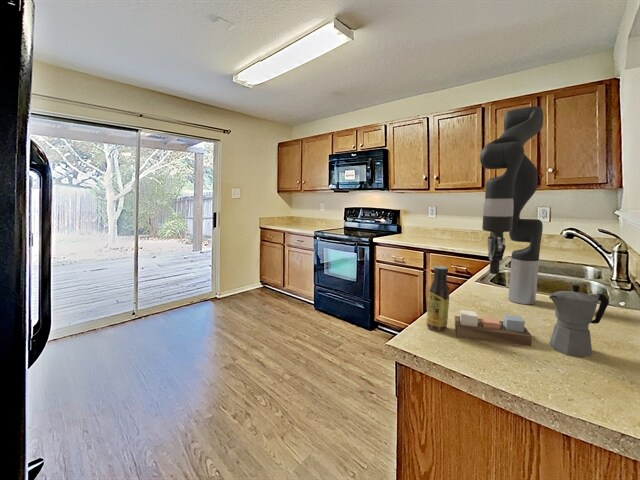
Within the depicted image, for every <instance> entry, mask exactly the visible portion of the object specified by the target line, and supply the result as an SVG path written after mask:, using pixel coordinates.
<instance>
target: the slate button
mask: <svg viewBox="0 0 640 480" xmlns="http://www.w3.org/2000/svg"><path fill="white" fill-rule="evenodd" d="M502 321H503V327H504V329H505V330H508V331H517V332H524V326H525V320H524V319H523V318H522V316H520V315H519V316H518V315H510V314H503V320H502Z"/></svg>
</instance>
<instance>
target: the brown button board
mask: <svg viewBox="0 0 640 480" xmlns="http://www.w3.org/2000/svg"><path fill="white" fill-rule="evenodd" d="M499 322H500V324H501V325H500V329H492V328H483V327H482V326H481V318H478V325H477V327H475V326H466V325H460V315H459V316H458V315H454V324H453V325H454V329H455V334H456V338H462V339H468V340H469V339H471V340H477V341H485V342H491V343H492V342H493V343H500V344H508V345H515V346H522V347H523V346H524V347H530V348H531V347H532V344H533V342H532V341H533V336H532V334H531V332H530V331H529V330H528V329H527V328H526V326H525V325H524V332H517V331H508V330H505V329H504V327H503V320H499Z"/></svg>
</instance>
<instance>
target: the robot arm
mask: <svg viewBox="0 0 640 480" xmlns="http://www.w3.org/2000/svg"><path fill="white" fill-rule="evenodd" d="M503 118H504V119H503V133H502V134H501V135H500V136H499V138H496V139H494V140H492V141H490V142H489V143H486V145H485V146H484V147H483V149H482V150H481V152H480V155H479V156H480V157H479V162H480V165H481V166H482V168H484V169H487V170H502V169H504V170H505V172H504V173H502V175H499V176H496V177H495V176H494V177H491V178H488V179H487V180H486V182H485V191H484V192H485V193H484V194H485V195H484V203H483V212H482V213H483V214H482V227H481V228H482V230H483V231H484V232H489V236H488V237H487V240H486V242H487V253H488V254H487V257H488V259H489V273H490V274H491V275H498V274H499V272H500V262H501V261H502V260H503V257H504V255H505V250H506V247H507V246H506V238H505V237H504V233H508V235H509V239H510V240H511V241H512V242H518V243H519V242H520V243H529V245H528V246H527V247H525V248H522V249H516V250H512V253H511V260H510V273H509V286H508V300H509V301H510V302H513V303H516V304H523V305H533V304H534V305H535V304H536V301H537V297H536V296H537V286H538V276H539V274H538V273H539V263H540V253H541V252H540V250H541V242H542V236H543V230H544V229H543V227H544V225H543V222H542V221H541V219H537V218H535V219H534V218H521V217H520V215H521V212H522V210H523V209H524V208H525V206H526V204H527V203H528V201H530V199H532V197H533V196H534V195H535V193H536V191H537V189H538V169H537V167H536V166H535V164H534V163H533V161H532V160H531V159H530V158H529V157H528V156H527V155H526V154H525V148H524V145H525V144H526V143H527V142H528V141H529V140H530V139H532V138H533V137H534V136H536V135H537V134H539V133H540V131H541V130H542V128H543V124H544V111H543V109H542V107H541V106H539V105H533V106H532V105H531V106H526V107H520V108H514V109H510V110H507V111H506V113H505V114H504V117H503Z"/></svg>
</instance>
